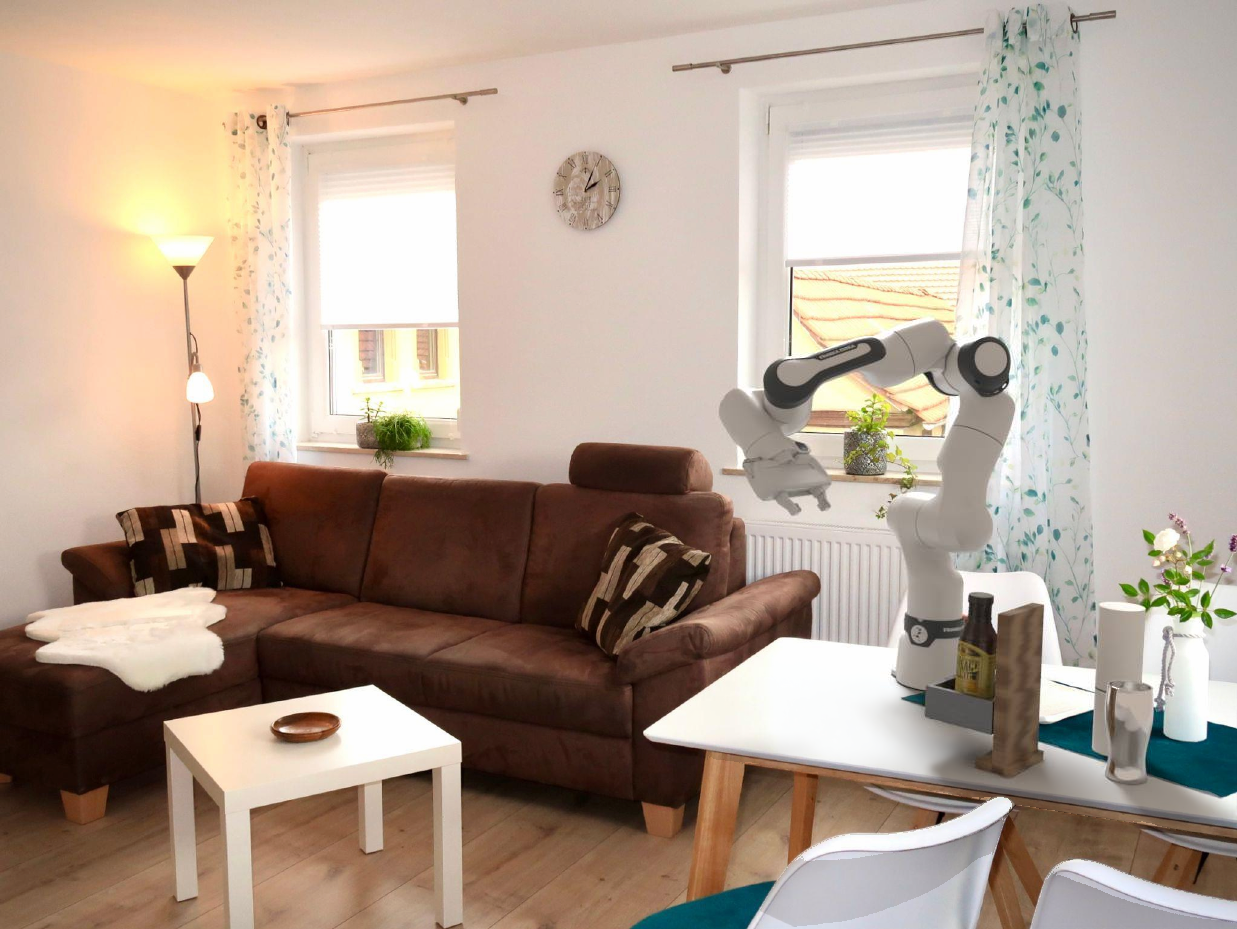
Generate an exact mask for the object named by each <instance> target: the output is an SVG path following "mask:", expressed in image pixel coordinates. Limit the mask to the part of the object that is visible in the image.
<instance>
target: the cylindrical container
mask: <svg viewBox="0 0 1237 929" xmlns="http://www.w3.org/2000/svg"><path fill="white" fill-rule="evenodd" d="M1146 611H1147V610H1146V607H1144V606H1143V605H1140V604H1135V603H1130V602H1123V601H1104V602H1100V603H1099V604H1098V617H1097V634H1096V635H1097V636H1096V637H1097V638H1096V656H1095V657H1096V659H1095V674H1094V675H1095V677H1094V700H1093V720H1092V722H1093V724H1092V742H1091V749H1092V751H1094V752H1095V753H1097V754H1099V755H1101V756H1106V757H1108V754H1109V749H1108V739H1107V733H1106V725H1105V699H1106V692H1107V683H1108V682H1109V681H1111V680H1132V681H1138V682H1142V683H1143V669H1144V668H1143V666H1144V665H1143V664H1144V648H1145V646H1144V645H1145V626H1146Z"/></svg>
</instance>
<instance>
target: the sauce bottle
mask: <svg viewBox="0 0 1237 929" xmlns="http://www.w3.org/2000/svg"><path fill="white" fill-rule="evenodd" d="M967 598H968V599H967V602H968V610H967V611H968V613H967V615H968V618H967V620H966V623H965V625H964V628H963V630H962V633H961V635H960V638H959V640H958V654H957V667H956V682H955V691H959V692H963V693H967V694H971V695H975V696H979V697H984V698H988V699H991V698H994V686H995V674H996V649H997V630H995V628H994V626H993V623H992V620H993V617H992V616H993V615H992V614H993V605H994V602H995V601H994V600H995V596H994V594H991V593H989V592H983V591H972V592H969V593H968V597H967Z"/></svg>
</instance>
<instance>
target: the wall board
mask: <svg viewBox="0 0 1237 929" xmlns="http://www.w3.org/2000/svg"><path fill="white" fill-rule="evenodd" d="M1044 614H1045V604H1043V603H1036V602H1030V603H1028V604H1024V605H1022V606H1021V605H1020V606H1018V607H1015V608H1013V609H1009V610H1004V611H1002V612H1000V613H997V625H996V626H997V627H996V633H997V649H996V671H995V700H994V725H993V735H992V750H990V751H988V752H985V753H984V754H981V755H979V756H978V757H976V758H974V762H973V763H974V764H973V768H974V769H977V770H980V771H983V772H987V773H990V774H994V775H998V776H1000V777H1004V778H1008V779H1010V778H1013V777H1014V776H1016V775H1018V774H1019V773H1021V772H1024V771H1025V770H1028V769H1029V768H1031V767H1032V766H1035V765H1037V764H1038V763H1040V762H1041V761H1044V757H1045V756H1044V754H1045V751H1044V750H1042V749H1039V729H1040V711H1041V710H1040V709H1041V708H1040V706H1041V689H1042V687H1041V686H1042V663H1043V662H1042V660H1043V638H1044V637H1043V636H1044V619H1045V618H1044Z"/></svg>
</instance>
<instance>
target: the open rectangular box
mask: <svg viewBox="0 0 1237 929" xmlns="http://www.w3.org/2000/svg"><path fill="white" fill-rule="evenodd" d="M955 682H956V674H955V675H952V676H949V677H947V678H944V679H941V680H939V681H936V682H934V683H931V684H928V685H926V690H925V693H924V694H925V696H924V718H926V719H930V720H933V721H937V722H941V723H944V724H948V725H952V726H955V727H960V728H962V729H963V728H964V729H967V730H971V731H974V732H978V733H983V734H987V735H989V736H993V725H994V700H995V686H994V698H991V699H988V698H984V697H979V696H975V695H971V694H967V693H963V692H959V691H955Z"/></svg>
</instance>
